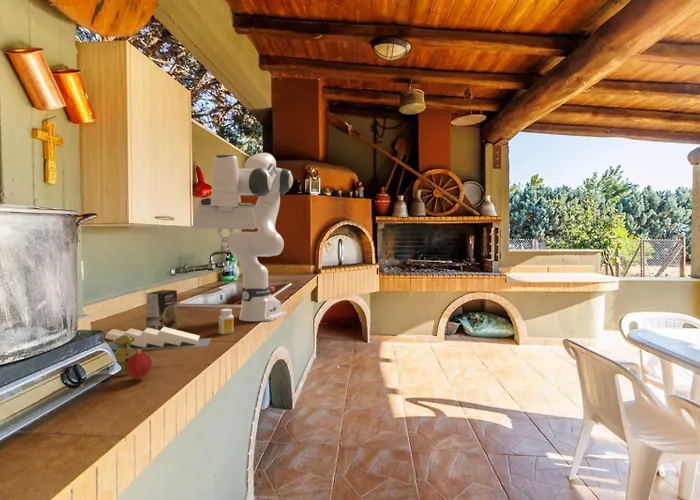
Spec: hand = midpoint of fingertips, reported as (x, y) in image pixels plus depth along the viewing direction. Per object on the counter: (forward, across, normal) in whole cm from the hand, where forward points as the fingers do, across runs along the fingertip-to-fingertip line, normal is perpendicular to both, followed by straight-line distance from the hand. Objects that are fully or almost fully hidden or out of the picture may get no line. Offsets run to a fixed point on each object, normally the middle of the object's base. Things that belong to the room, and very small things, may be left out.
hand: (225, 242), depth 122 cm
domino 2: (+33, +29, +1) cm, 44 cm away
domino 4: (+33, +14, +1) cm, 36 cm away
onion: (+35, +19, +28) cm, 49 cm away
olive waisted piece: (+35, +25, +20) cm, 48 cm away
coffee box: (+35, +24, -17) cm, 46 cm away
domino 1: (+33, +24, +1) cm, 41 cm away
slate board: (+35, +18, +1) cm, 39 cm away
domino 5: (+33, +9, +1) cm, 35 cm away
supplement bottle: (+35, +1, -11) cm, 37 cm away
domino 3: (+33, +19, +1) cm, 38 cm away
